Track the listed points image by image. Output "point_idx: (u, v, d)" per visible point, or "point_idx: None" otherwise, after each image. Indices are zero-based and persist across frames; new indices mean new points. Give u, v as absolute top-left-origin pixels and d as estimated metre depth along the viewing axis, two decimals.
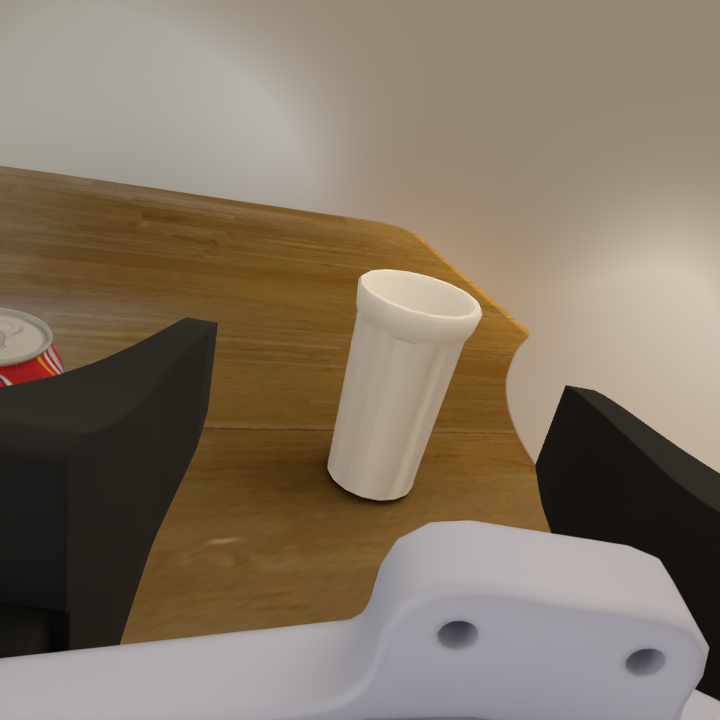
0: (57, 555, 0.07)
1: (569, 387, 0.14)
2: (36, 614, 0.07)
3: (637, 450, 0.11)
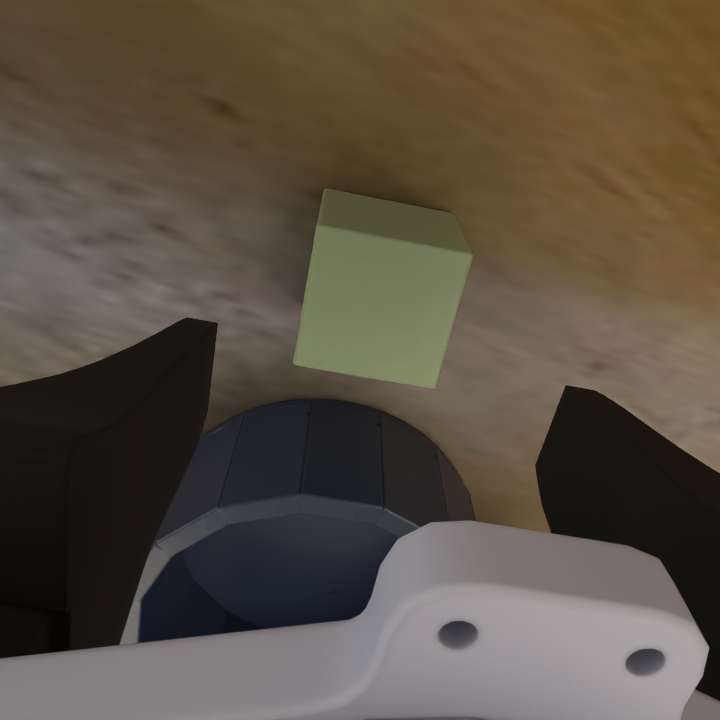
0: (57, 555, 0.07)
1: (569, 387, 0.14)
2: (36, 614, 0.07)
3: (637, 450, 0.11)
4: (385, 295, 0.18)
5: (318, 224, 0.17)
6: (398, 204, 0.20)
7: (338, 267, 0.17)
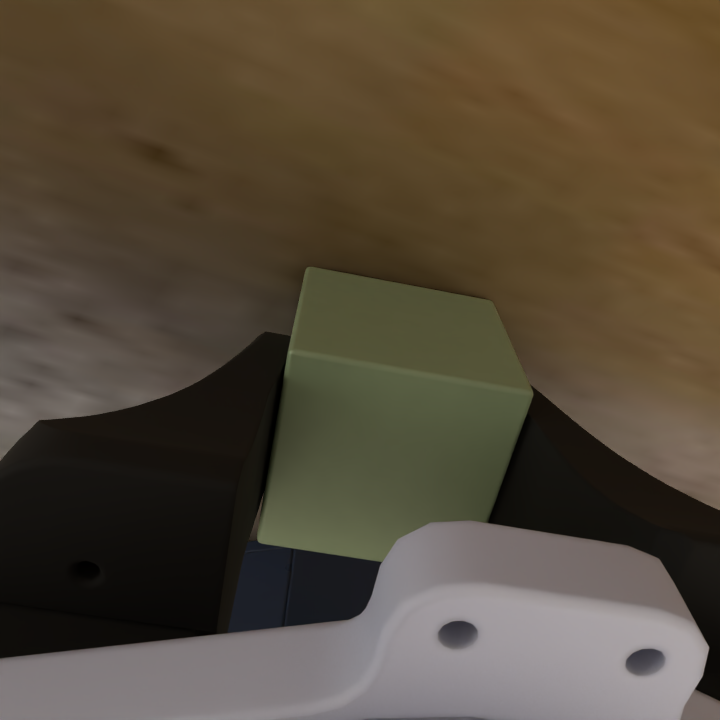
0: (214, 578, 0.07)
1: None
2: (187, 635, 0.07)
3: (541, 433, 0.11)
4: (396, 450, 0.12)
5: (291, 348, 0.11)
6: (413, 289, 0.14)
7: (324, 410, 0.11)
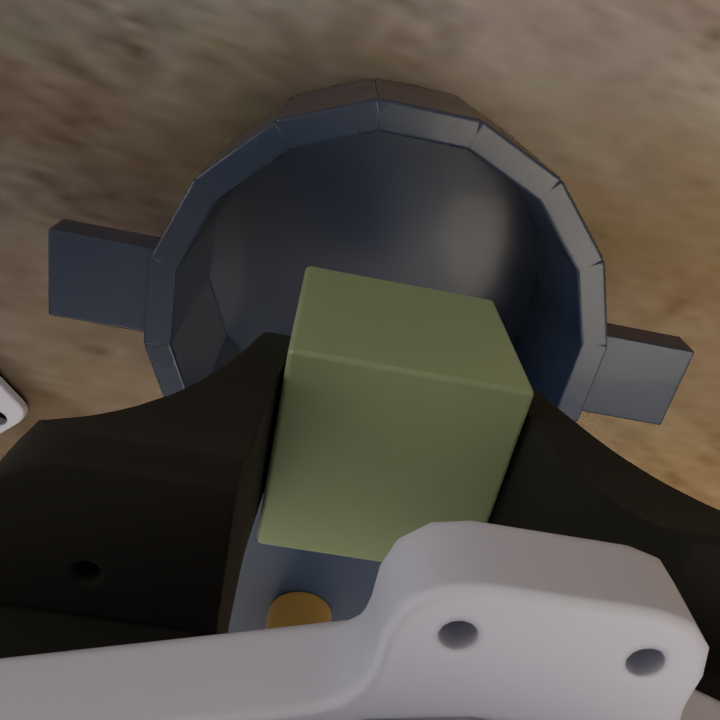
0: (215, 578, 0.07)
1: None
2: (187, 635, 0.07)
3: (541, 434, 0.11)
4: (396, 450, 0.11)
5: (291, 348, 0.11)
6: (413, 289, 0.14)
7: (324, 410, 0.11)
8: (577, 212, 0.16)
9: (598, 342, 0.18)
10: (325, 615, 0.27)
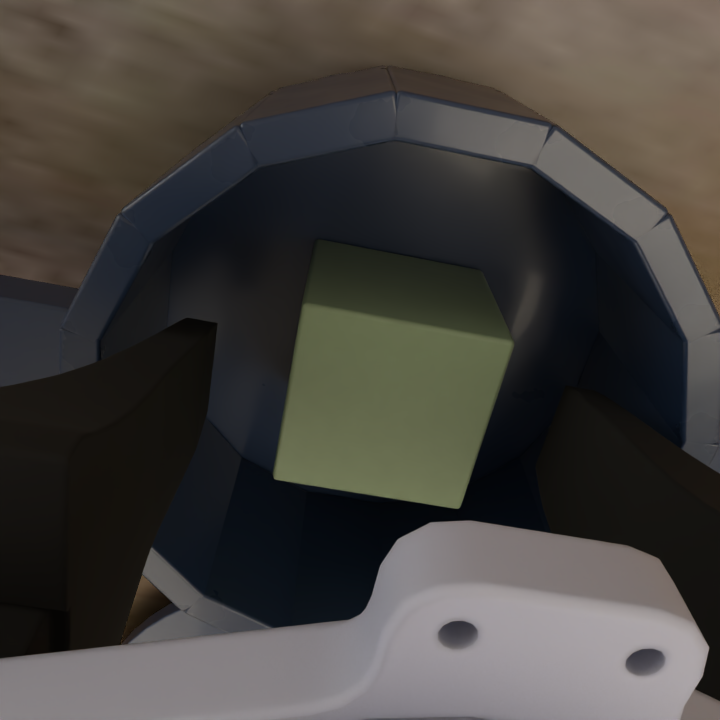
0: (57, 555, 0.07)
1: (569, 387, 0.14)
2: (36, 614, 0.07)
3: (637, 450, 0.11)
4: (395, 394, 0.13)
5: (304, 302, 0.12)
6: (410, 260, 0.16)
7: (332, 358, 0.13)
8: (690, 259, 0.11)
9: (706, 437, 0.13)
10: None
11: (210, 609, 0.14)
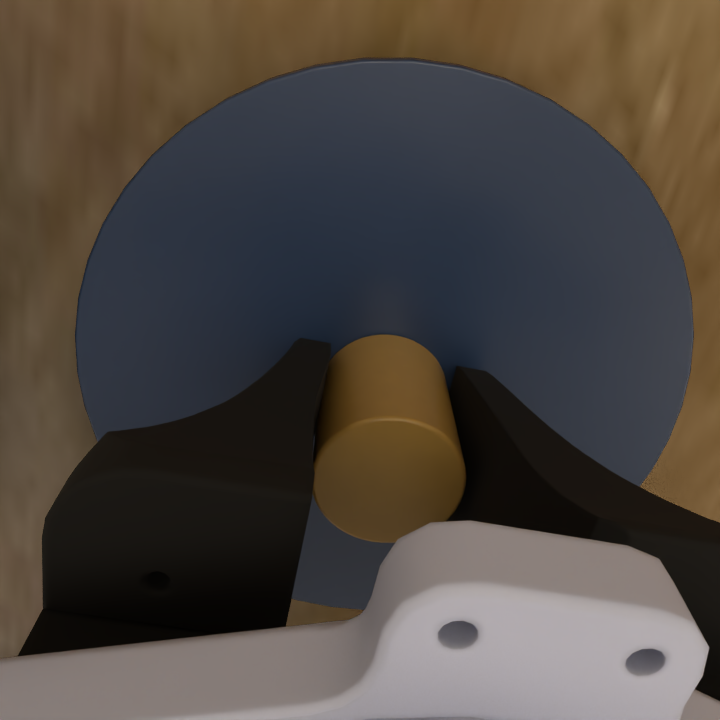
0: (284, 588, 0.07)
1: (458, 367, 0.14)
2: None
3: (500, 426, 0.11)
4: None
5: None
6: None
7: None
8: None
9: None
10: (348, 357, 0.13)
11: None
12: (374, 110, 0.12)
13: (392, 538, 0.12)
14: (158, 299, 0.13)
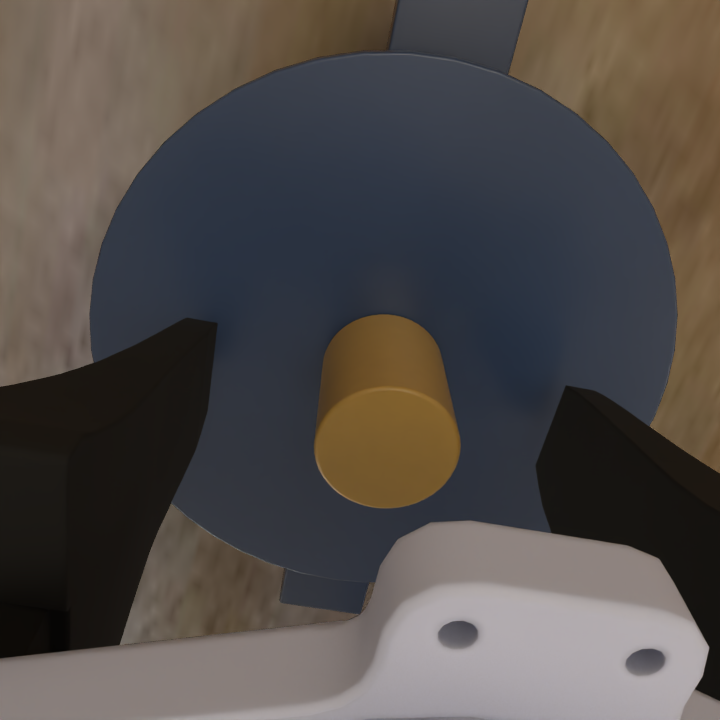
0: (57, 555, 0.07)
1: (569, 387, 0.14)
2: (36, 614, 0.07)
3: (637, 450, 0.11)
4: None
5: None
6: None
7: None
8: None
9: None
10: (350, 335, 0.14)
11: None
12: (374, 100, 0.13)
13: (391, 504, 0.13)
14: (168, 280, 0.14)
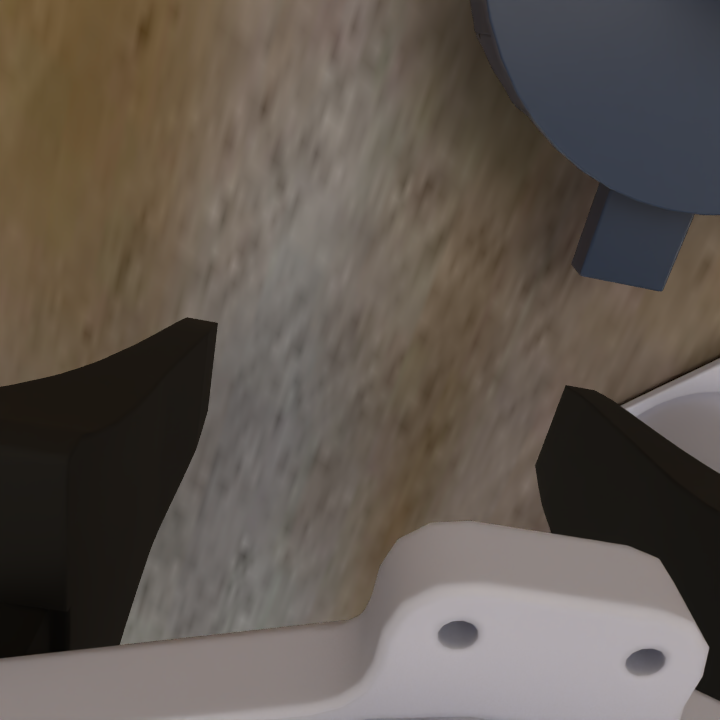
0: (57, 555, 0.07)
1: (569, 387, 0.14)
2: (36, 614, 0.07)
3: (637, 450, 0.11)
4: None
5: None
6: None
7: None
8: None
9: None
10: None
11: None
12: None
13: None
14: None
